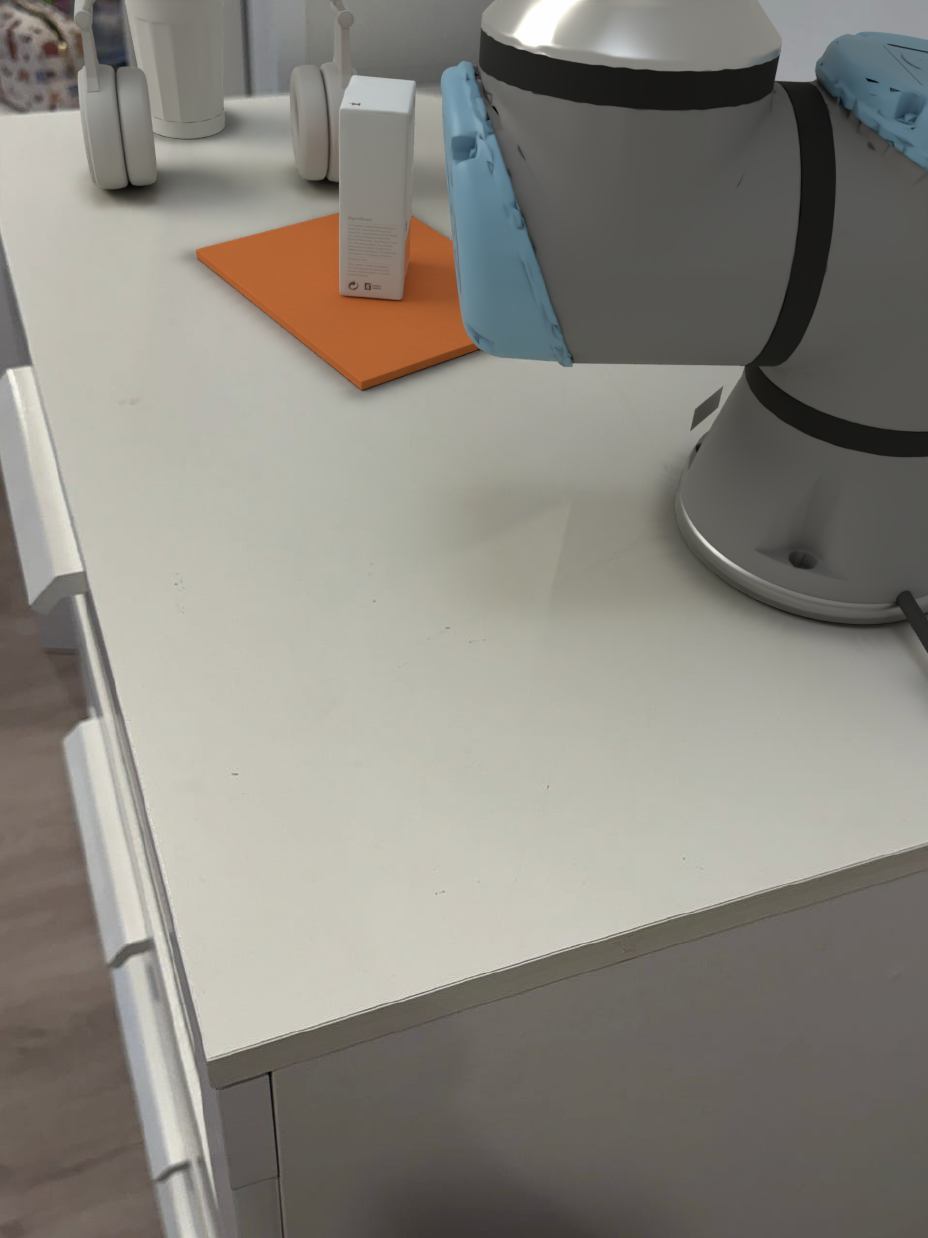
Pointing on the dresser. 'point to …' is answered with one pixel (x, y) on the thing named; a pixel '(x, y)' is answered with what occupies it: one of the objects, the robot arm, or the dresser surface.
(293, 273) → the orange rectangular board
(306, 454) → the dresser surface
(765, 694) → the dresser surface
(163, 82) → the cup
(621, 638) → the dresser surface
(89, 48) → the headphones
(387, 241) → the cosmetic box
